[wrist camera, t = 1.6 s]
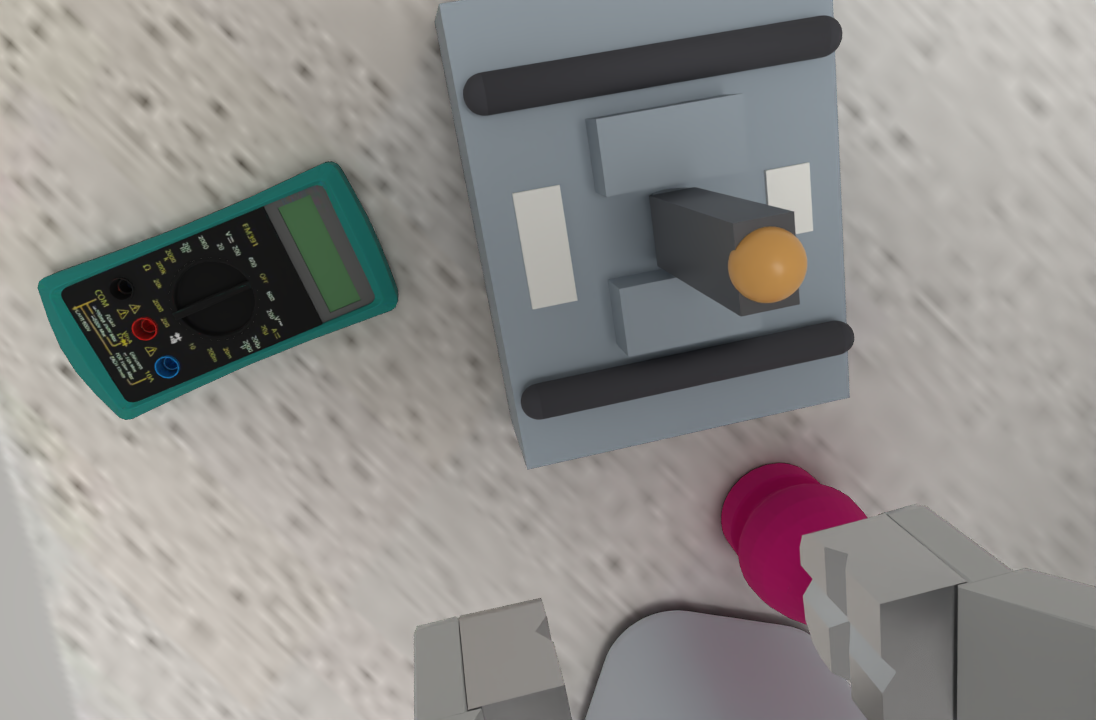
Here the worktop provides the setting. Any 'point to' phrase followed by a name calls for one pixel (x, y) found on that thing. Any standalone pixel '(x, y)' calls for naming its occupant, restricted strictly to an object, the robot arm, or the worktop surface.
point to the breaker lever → (729, 248)
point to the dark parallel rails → (639, 72)
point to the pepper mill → (780, 529)
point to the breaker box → (640, 210)
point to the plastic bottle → (717, 673)
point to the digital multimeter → (220, 292)
